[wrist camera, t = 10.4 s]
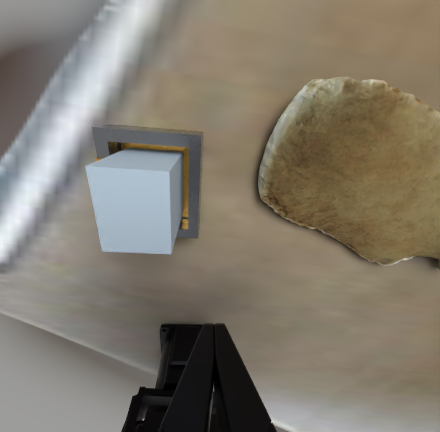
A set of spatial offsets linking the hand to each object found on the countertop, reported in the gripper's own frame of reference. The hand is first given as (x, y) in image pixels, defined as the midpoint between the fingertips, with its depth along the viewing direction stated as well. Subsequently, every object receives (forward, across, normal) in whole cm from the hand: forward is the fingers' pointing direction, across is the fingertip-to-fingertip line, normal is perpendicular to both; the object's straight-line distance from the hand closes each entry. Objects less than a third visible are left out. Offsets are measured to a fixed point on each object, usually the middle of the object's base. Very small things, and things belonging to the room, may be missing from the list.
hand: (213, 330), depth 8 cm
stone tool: (+12, -15, -2) cm, 20 cm away
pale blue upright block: (+11, +4, -3) cm, 12 cm away
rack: (+12, +4, -3) cm, 13 cm away
